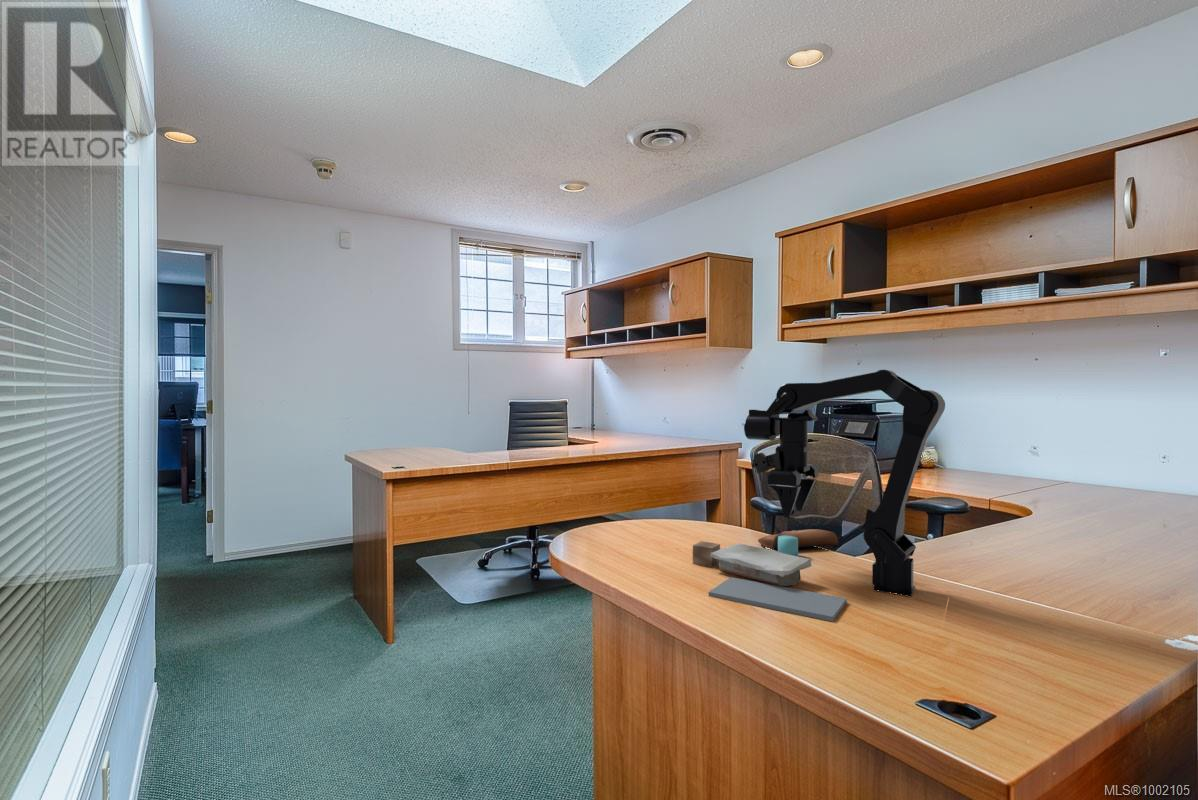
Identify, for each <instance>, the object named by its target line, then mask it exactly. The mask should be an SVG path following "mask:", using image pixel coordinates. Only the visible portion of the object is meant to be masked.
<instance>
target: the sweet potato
mask: <svg viewBox="0 0 1198 800" xmlns="http://www.w3.org/2000/svg"><path fill="white" fill-rule="evenodd" d="M778 536H794V537H797V538H798V548H810V547H830V546H831V547H834V548H837V547H838V545H839V539H838V537H837V534H836V533H835V532H833V531H829V530H825V529H815V528H814V529H812V528H811V529H799V530H795V529H794V530H793V529H792V530H790V531H789V530H788V531H786V530H784V531H781V532H780V533H776V534H775V533H774V534H770V535H766V536H765V535H764V536H762V537H760V538H758V539H757V541H758V543H759V544H760V545H761V546H762V545H763V546H765V547H767V548H770V549H772V550H775V551H778ZM763 546H762V547H763Z"/></svg>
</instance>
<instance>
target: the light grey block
mask: <svg viewBox="0 0 1198 800" xmlns="http://www.w3.org/2000/svg"><path fill="white" fill-rule="evenodd" d="M710 557H711V558H715V559H717V562H718V564H717V565H718V569H719V570H720V571H721V572H725V573H729V574H731V575H737V576H740V577H744V578H748V579H751V580H754V581H757V582H761V583H765V584H771V585H776V586H782V587H789V586H790V585H794V584H795V585H797V583H800V581H801V578H802V576H801V571H802V570H806V569H808V568H811V567H812V560H811V558H807V557H801V556H799V555H798V556H793V555H788V554H784V553H781V552H778V551H776V550H771V549H766V548H764V547H758V546H753V545H748V544H745V543H740V542H738V543H734V544H730V545H729V546H726V547H723V548H720V550H718V551H715V552H712V553H711V554H710ZM795 585H794V586H795Z"/></svg>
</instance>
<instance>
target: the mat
mask: <svg viewBox="0 0 1198 800" xmlns="http://www.w3.org/2000/svg"><path fill="white" fill-rule="evenodd" d="M708 597H713V598H716V599H723V600H727V601H730V602H735V603H740V604H744V605H750V606H754V607H759V608H764V609H770V610H774V611H780V612H784V613H789V614H793V615H798V616H804V617H808V618H809V617H810V618H813V619H818V620H823V621H828V622H834V621H835V619H836V618H837V617H838V616H839V614H840V613H839V612H842V610H841V609H844V607H845V606H846V604H847V602H848V598H847V597H842V596H835V595H831V594H825V593H820V592H813V591H809V590H803V589H798V588H792V587H788V586H778V585H774V584H769V583H766V582H761V581H755V580H748V579H743V578H737V577H732V576H730V577H729V578H727V579H725V580H724V581H723V582H722V583H720V584H718V585H717V586H715V587H714V588H712V589H710V591H708ZM844 605H845V606H844Z"/></svg>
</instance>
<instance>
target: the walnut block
mask: <svg viewBox="0 0 1198 800" xmlns="http://www.w3.org/2000/svg"><path fill="white" fill-rule="evenodd" d="M720 549H721V544H720V543H716V542H715V543H714V542H708V541H703V540H702V541H701V540H700V541H699V542H697V543H695V544H693V545H692V564H694V565H697V564H699V566H703V565H704V566H703V567H708V566H709V567H708V568H713V567H714V565H715V564H716V565H718V564H717V563H718V562H717V559H715V558H711V557H710V554H711V553H712V552H715V551H718V550H720ZM716 565H715V566H716ZM712 566H713V567H712Z"/></svg>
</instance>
